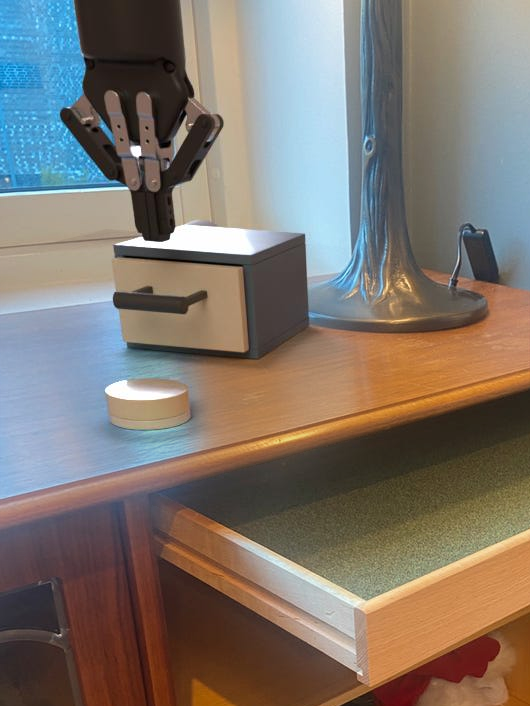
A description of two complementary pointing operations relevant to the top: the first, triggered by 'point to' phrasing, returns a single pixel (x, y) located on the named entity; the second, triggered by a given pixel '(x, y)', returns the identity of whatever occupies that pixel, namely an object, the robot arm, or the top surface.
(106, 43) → the robot arm
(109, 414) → the cream short cylinder
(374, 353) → the top surface
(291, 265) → the cabinet
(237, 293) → the drawer
